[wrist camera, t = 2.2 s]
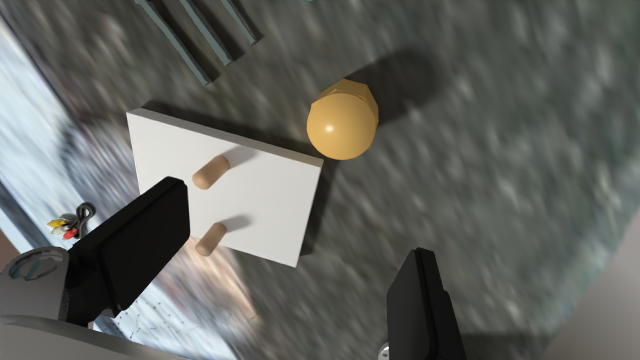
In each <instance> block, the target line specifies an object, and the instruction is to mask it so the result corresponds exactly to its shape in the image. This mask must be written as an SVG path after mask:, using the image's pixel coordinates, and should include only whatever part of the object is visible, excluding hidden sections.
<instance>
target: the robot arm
mask: <svg viewBox="0 0 640 360" xmlns="http://www.w3.org/2000/svg"><path fill="white" fill-rule="evenodd" d="M190 232H191V230H190V215H189V201H188V187H187V185H186V184H185V183H184V181H183V180H182V179H178V178H175V177H171V176H167V177H165V178H163V179H162V180H161V181H159V182H158V183H157V184H155V185H154V186H153V187H151V188H150V189H148V190H147V191H146V192H144V193H143V194H142V195H140V196H139V197H137V198H136V199H135V200H133V201H132V202H131V203H129V204H128V205H127V206H125V207H124V208H122V209H121V210H120V211H118V212H117V213H116V214H114V215H113V216H111V217H110V218H109V219H107V220H106V221H105V222H103V223H102V224H101V225H99V226H98V227H96V228H95V229H94V230H92V231H91V232H90V233H88V234H87V235H86V236H84V237H83V238H81V239H80V240H79V241H77V242H76V243H75V244H73V247H72V248H70V249H69V250H68V251H67V250H66V249H63V248H61V247H55V246H48V247H41V248H37V249H33V250H30V251H28V252H25V253H23V254H21V255H19V256H17V257H16V258H14V259H13V260H11V261H10V262H9V263H8V264H7V265H6V266H5V267H4V269H3V270H2V272H1V273H0V360H190V359H187V358H184V357H180V356H177V355H174V354H171V353H168V352H164V351H161V350H158V349H155V348H151V347H148V346H145V345H142V344H139V343H135V342H132V341H129V340H126V339H122V338H119V337H116V336H113V335H109V334H106V333H102V332H99V331H95V330H93V324H94V320H95V319H96V318H97V317H98V316H99V315H100V314H102V315H105V316H108V317H111V318H116V316H117V315H118V314H119V313H120V312H121V311H124V310H126V309H128V308H129V307H130V306H131V305H132V303H133V302H134V301H135V300H136V299H137V298H138V297H139V295H140V294H141V293H142V292H143V291H144V290H145V288H146V287H147V286H148V285H149V284H150V283H151V282H152V280H153V279H154V278H155V277H156V276H157V275H158V273H159V272H160V271H161V270H162V269H163V268H164V267H165V265H166V264H167V263H168V262H169V261H170V260H171V259H172V257H173V256H174V255H175V254H176V253H177V252H178V250H179V249H180V248H181V247H182V246H183V245H184V244H185V242H186V241H187V240H188V238H189V236H190ZM387 323H388V342H387V343H385V344H384V345H383V346H382V347H381V348H380V350H379V353H378V360H467V358H466V355H465V351H464V347H463V343H462V340H461V336H460V332H459V329H458V325H457V321H456V318H455V314H454V310H453V306H452V303H451V299H450V296H449V294H448V292H447V291H445V290H444V289H443V285H442V281H441V278H440V274H439V270H438V266H437V262H436V258H435V254H434V252H433V251H430V250H427V249H423V248H420V247H418V248H416V250H413V249H412V250H411V251H410V253H409V254H408V256H407V258H406V260H405V262H404V263H403V265H402V267H401V269H400V270H399V272H398V274H397V276H396V278H395V279H394V281H393V283H392V285H391V287H390V288H389V290H388V293H387Z"/></svg>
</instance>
